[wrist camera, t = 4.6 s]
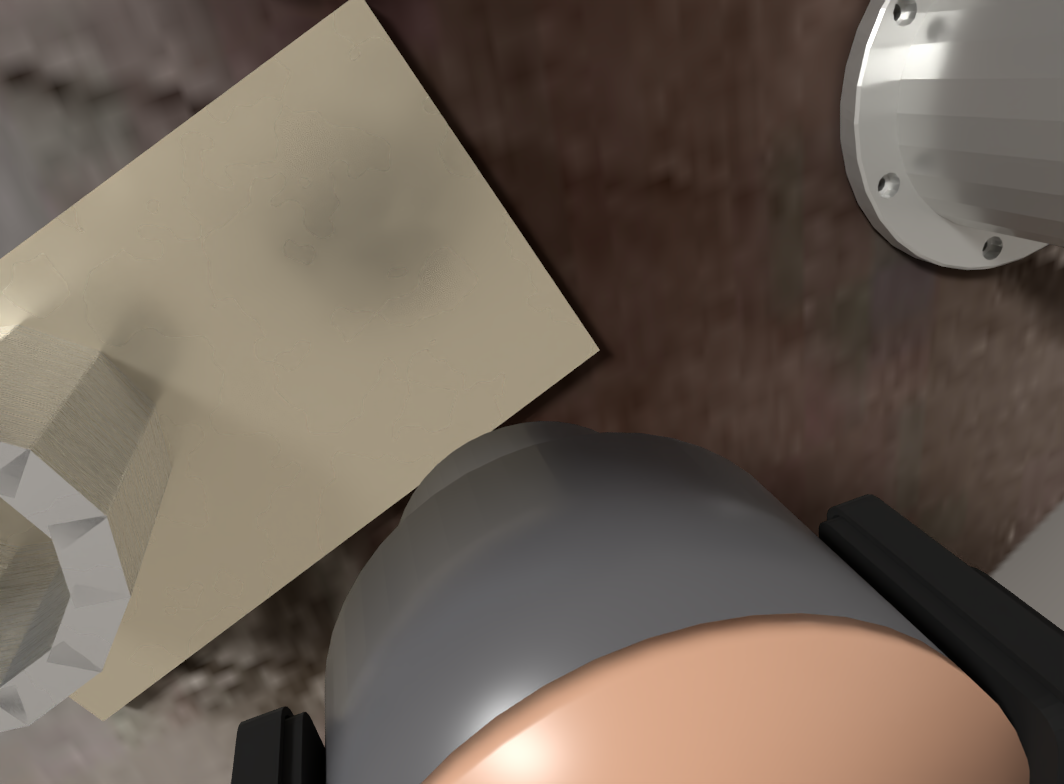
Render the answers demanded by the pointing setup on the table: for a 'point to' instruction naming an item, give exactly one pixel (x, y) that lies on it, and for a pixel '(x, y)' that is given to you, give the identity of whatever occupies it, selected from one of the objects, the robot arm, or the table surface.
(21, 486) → the cylinder on base plate
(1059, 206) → the robot arm
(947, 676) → the peach ball on collar
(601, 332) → the table surface
